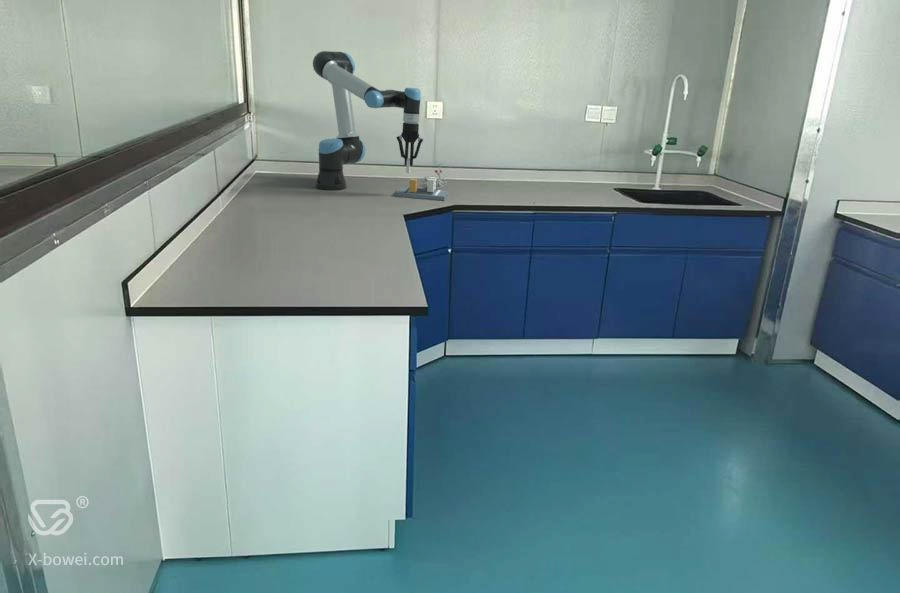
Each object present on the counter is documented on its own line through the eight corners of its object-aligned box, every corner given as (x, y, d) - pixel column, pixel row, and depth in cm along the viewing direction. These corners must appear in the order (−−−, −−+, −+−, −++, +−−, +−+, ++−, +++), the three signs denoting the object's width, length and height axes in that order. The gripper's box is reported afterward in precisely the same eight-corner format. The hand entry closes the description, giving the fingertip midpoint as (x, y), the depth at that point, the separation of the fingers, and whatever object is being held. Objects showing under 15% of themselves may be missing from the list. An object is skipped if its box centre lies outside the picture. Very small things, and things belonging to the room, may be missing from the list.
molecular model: (436, 194, 320) (436, 174, 316) (419, 192, 324) (418, 173, 320) (453, 186, 336) (453, 168, 332) (436, 185, 340) (436, 166, 336)
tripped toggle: (409, 192, 307) (409, 179, 305) (410, 190, 310) (411, 178, 308) (415, 192, 307) (415, 180, 305) (416, 191, 310) (417, 179, 307)
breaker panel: (395, 196, 307) (396, 179, 304) (401, 190, 320) (402, 174, 317) (444, 200, 305) (445, 183, 302) (448, 194, 318) (449, 178, 315)
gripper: (395, 122, 294) (393, 172, 303) (423, 124, 293) (420, 175, 302) (398, 120, 301) (396, 169, 310) (425, 123, 300) (422, 172, 309)
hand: (408, 172), depth 306 cm, fingers closed
